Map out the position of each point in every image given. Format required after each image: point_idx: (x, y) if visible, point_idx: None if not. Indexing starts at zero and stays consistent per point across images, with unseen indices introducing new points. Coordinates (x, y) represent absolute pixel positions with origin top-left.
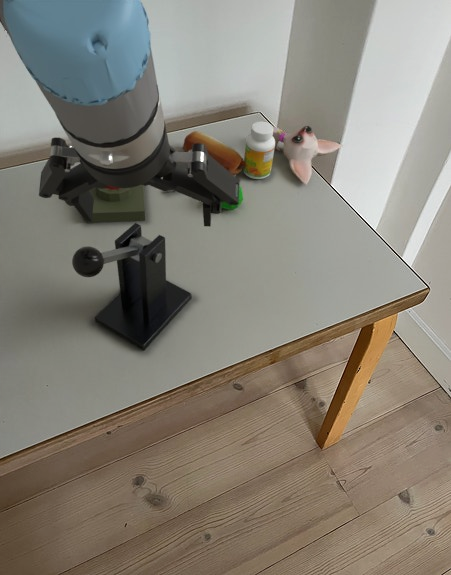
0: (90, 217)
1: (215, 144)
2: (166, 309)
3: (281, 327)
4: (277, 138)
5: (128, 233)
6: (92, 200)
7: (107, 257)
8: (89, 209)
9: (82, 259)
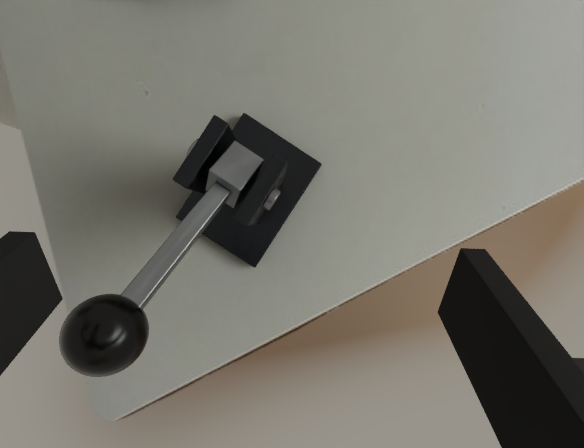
0: (44, 313)
1: None
2: (284, 197)
3: (452, 216)
4: None
5: (201, 153)
6: (25, 256)
7: (157, 286)
8: (20, 315)
9: (81, 368)
